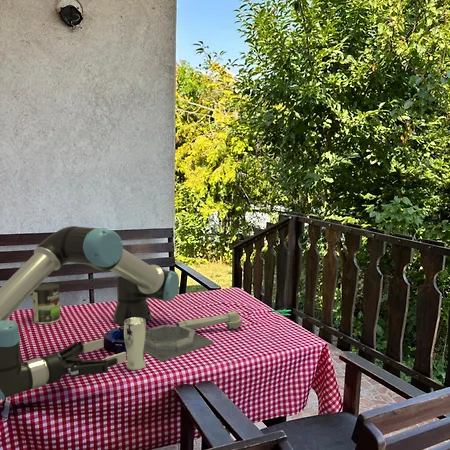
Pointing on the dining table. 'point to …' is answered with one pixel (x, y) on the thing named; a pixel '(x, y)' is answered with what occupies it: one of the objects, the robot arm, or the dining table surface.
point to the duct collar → (173, 341)
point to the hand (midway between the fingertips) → (113, 349)
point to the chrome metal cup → (135, 342)
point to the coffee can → (46, 303)
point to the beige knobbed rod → (213, 321)
